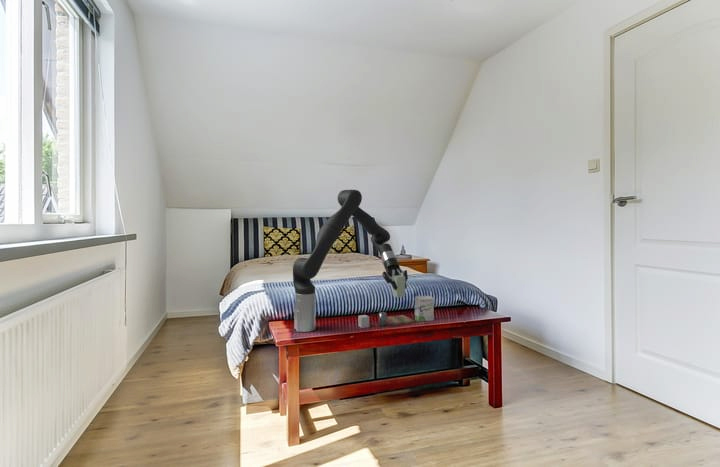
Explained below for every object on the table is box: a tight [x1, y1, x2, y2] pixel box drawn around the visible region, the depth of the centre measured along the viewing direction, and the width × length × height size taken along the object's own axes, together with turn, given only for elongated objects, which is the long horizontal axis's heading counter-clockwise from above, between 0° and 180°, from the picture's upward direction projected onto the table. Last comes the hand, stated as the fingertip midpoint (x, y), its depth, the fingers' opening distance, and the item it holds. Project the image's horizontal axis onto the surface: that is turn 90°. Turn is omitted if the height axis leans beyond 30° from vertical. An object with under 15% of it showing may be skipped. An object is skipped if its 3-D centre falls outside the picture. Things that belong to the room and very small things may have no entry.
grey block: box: [357, 314, 370, 329], centre depth 187 cm, size 4×4×5 cm
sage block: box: [392, 274, 406, 298], centre depth 196 cm, size 5×5×10 cm
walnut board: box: [386, 314, 416, 326], centre depth 197 cm, size 12×12×1 cm
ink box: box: [414, 295, 435, 322], centre depth 199 cm, size 8×5×12 cm, turn 107°
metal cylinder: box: [378, 311, 387, 327], centre depth 189 cm, size 4×4×6 cm
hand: (400, 288), depth 194 cm, fingers closed on sage block, 4 cm apart
